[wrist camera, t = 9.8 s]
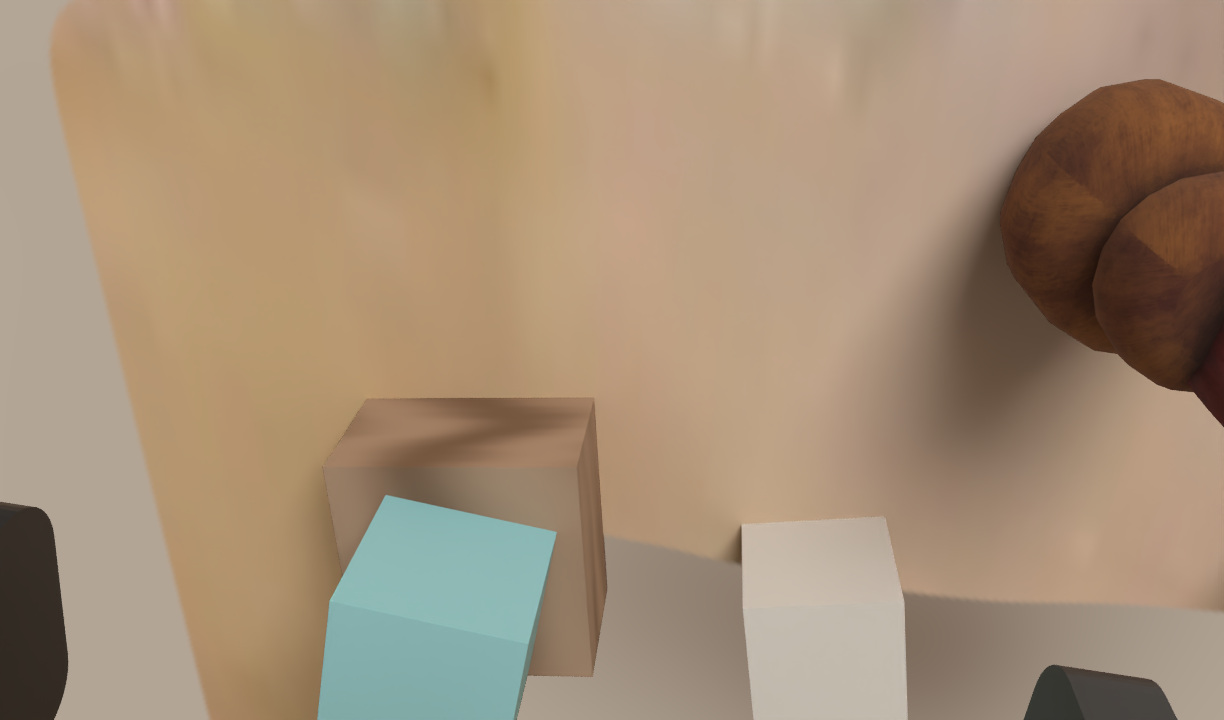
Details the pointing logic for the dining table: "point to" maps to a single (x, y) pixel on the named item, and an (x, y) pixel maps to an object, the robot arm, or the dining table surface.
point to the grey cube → (823, 620)
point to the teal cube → (434, 617)
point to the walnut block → (490, 493)
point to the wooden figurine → (1129, 231)
